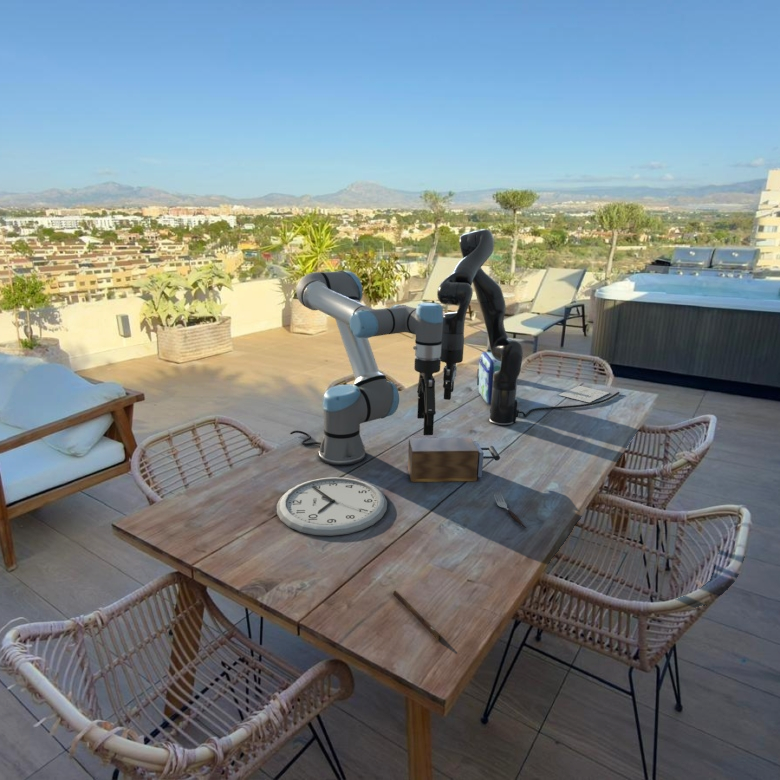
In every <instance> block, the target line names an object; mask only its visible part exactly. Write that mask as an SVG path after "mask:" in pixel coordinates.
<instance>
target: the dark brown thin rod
mask: <svg viewBox="0 0 780 780" xmlns="http://www.w3.org/2000/svg"><path fill="white" fill-rule="evenodd" d="M392 595H393V596H394V597H395V598H396V599H397V600H398V601H399V602H400V603H401V604H402V605H403V606H404V607H405V608H406V609H407V610H408V612H410V613H411V614H412V615H413V616H414V618H416V619H417V620H418V621H419V622H420V623H421V624H422V625H423V626H424V628H426V629H427V630H428V631H429V633H430V634H431V635H432V636H433V637H434V638H435V639H436V640H437V641H439V640H441V635H440V634H439V633H438V631H436V629H435V628H434V627H433V626H432V625H431V624H430V623H429V622H428V621H427V620H426V619H425V618H424V617H423V616H422V615H421V614H420V613H419V612H418V611H417V610H416V609H415V608H414V607H413V606H412V605H411V604H410V603H409V602H408V601H407V600H406V599H405V598H404V597H403V596H402V595H401V593H399V592H398V591H397V590H394V591H393V593H392Z"/></svg>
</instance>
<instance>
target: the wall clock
mask: <svg viewBox="0 0 780 780" xmlns="http://www.w3.org/2000/svg"><path fill="white" fill-rule="evenodd" d="M387 509H388V500H387V498H386V496H385V494H384V493H383V492H382V491H381V490H380V489H379V488H377V487H376V486H374V485H372V484H371V483H369V482H365V481H362V480H359V479H355V478H349V477H338V476H337V477H335V476H333V477H332V476H331V477H322V478H317V479H312V480H307V481H305V482H302V483H299V484H297V485H295V486H293V487H292V488H290V489H288V490H287V491H286V492H285V493H284V494H283V495H281V496H280V498H279V499H278V502H277V503H276V515H277V517H278V518H279V520H280V521H281V522H282V523H283V524H285V525H286V526H287V527H288V528H290V529H293V530H295V531H297V532H299V533H303V534H308V535H312V536H327V537H328V536H329V537H331V536H332V537H333V536H342V535H350V534H352V533H356V532H361V531H363V530H366V529H368V528H369V527H372V526H373V525H375V524H376V523H378V522H379V521H380V520H381V519H382V518H383V517H384V516H385V514H386V512H387Z"/></svg>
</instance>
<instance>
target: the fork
mask: <svg viewBox="0 0 780 780" xmlns="http://www.w3.org/2000/svg"><path fill="white" fill-rule="evenodd" d="M497 494H498V495H497ZM493 497H494V499H495V503H496V505H497V506H498V507H499V508H502V509H505V510H507V512H508V514H509V515H510V517H511V518H513V519H514V521H516V522H517V523H518V524H519V525H521V526H522V527H523V528H524V529H526V525H524V523H523V522H522V521H521V520H520V518H519V517H518V516H517V515H516V514H515V513H514V512H513V511H511V509H509V508H508V504H507V502H506V501H505V499H504V497H503V495H502V493H499V492H498V493H495V494H493Z"/></svg>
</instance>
